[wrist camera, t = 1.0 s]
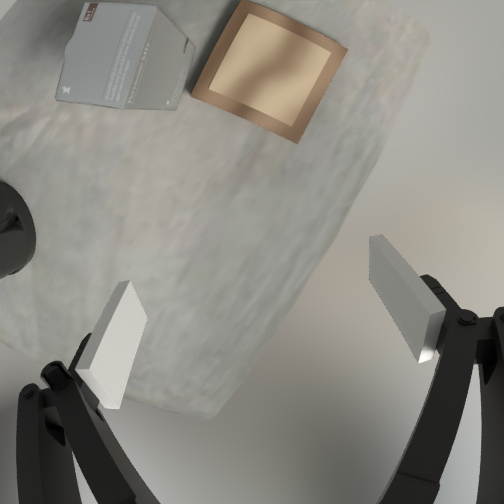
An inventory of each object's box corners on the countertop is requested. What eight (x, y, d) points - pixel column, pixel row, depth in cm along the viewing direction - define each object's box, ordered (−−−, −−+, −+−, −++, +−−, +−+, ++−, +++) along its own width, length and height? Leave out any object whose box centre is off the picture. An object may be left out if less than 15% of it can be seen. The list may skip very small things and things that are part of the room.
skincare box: (177, 110, 32) (131, 119, 18) (122, 99, 31) (48, 106, 17) (199, 43, 29) (167, 4, 15) (141, 34, 27) (78, 0, 13)
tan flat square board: (192, 96, 32) (190, 96, 30) (242, 2, 26) (242, -2, 25) (295, 142, 34) (297, 144, 33) (344, 51, 29) (348, 49, 28)
